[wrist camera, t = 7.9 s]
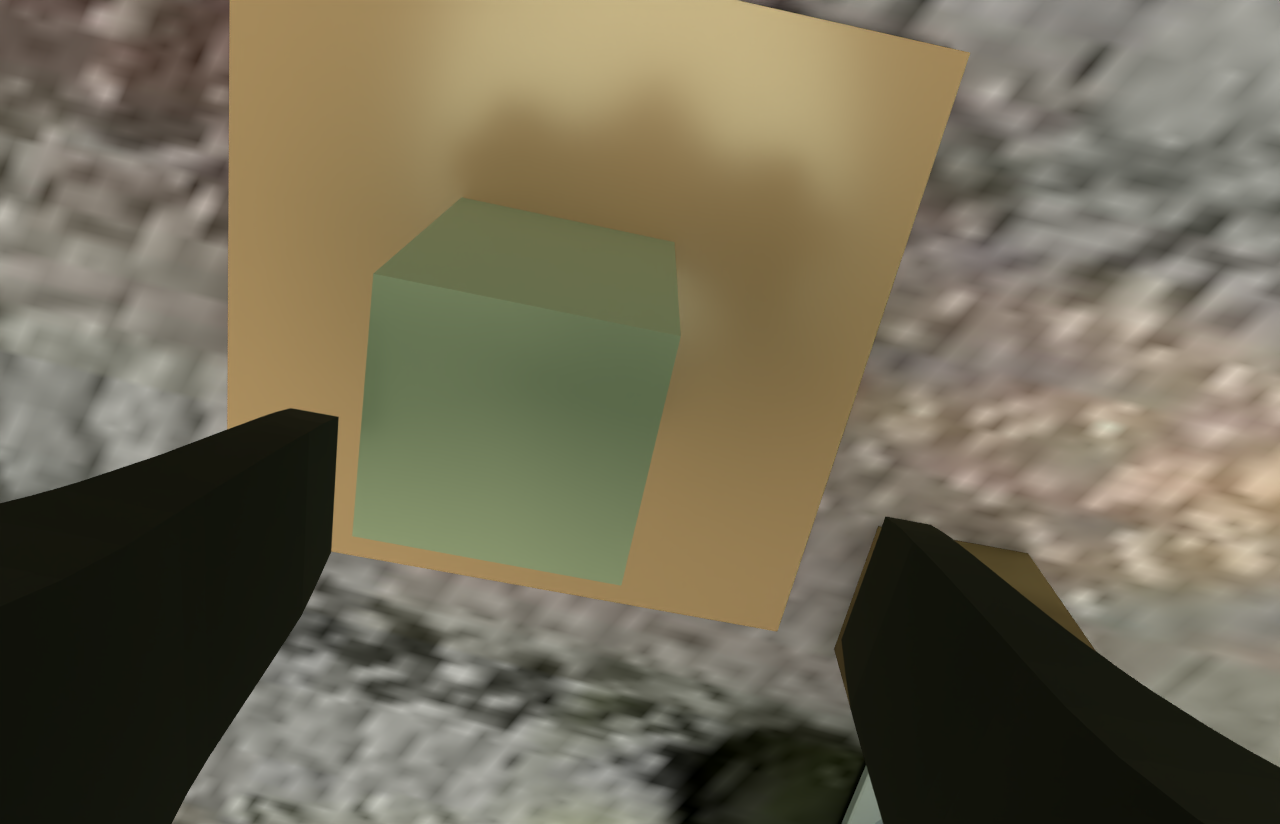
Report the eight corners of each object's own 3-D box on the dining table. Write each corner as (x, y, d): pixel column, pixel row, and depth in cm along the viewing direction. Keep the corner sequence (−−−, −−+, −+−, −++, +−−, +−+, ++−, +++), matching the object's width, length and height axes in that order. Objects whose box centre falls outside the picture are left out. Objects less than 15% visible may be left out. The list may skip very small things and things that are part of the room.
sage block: (632, 431, 20) (621, 585, 14) (438, 393, 20) (352, 536, 14) (674, 242, 18) (680, 336, 13) (461, 197, 18) (373, 274, 12)
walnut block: (973, 671, 24) (1029, 787, 20) (833, 647, 24) (864, 759, 20) (1026, 551, 22) (1098, 654, 19) (877, 524, 22) (920, 623, 18)
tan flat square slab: (772, 607, 23) (777, 631, 22) (244, 511, 22) (226, 532, 21) (953, 51, 17) (970, 52, 16) (254, -106, 16) (230, -115, 16)
